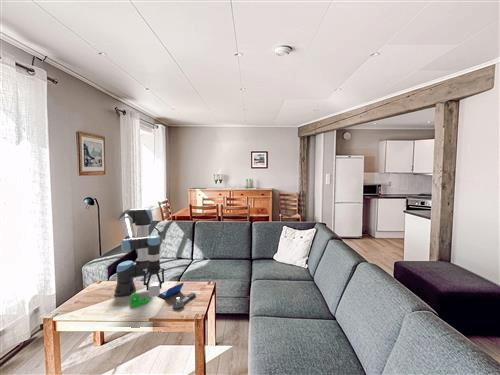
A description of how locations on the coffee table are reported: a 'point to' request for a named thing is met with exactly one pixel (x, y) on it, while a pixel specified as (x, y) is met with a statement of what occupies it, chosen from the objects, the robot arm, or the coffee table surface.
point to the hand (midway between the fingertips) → (154, 294)
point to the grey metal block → (154, 289)
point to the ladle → (182, 301)
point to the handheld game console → (171, 291)
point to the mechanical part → (137, 300)
